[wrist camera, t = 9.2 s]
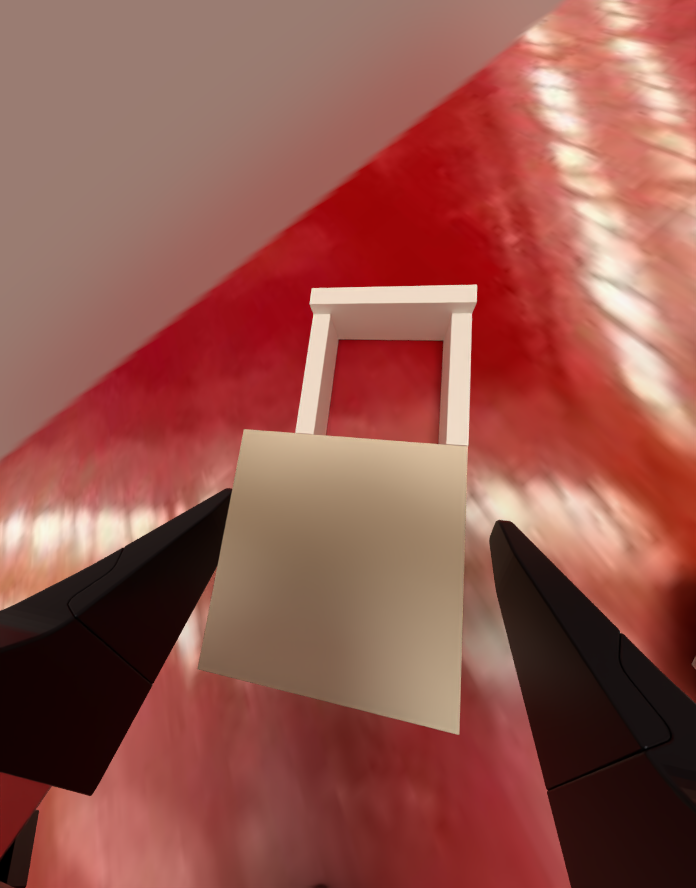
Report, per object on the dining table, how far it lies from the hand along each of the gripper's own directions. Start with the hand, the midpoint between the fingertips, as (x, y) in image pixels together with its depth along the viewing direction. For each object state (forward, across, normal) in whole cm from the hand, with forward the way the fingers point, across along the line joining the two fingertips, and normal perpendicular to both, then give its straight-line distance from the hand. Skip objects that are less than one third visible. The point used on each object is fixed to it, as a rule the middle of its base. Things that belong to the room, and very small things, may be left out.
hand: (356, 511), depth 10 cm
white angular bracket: (+13, 0, 0) cm, 13 cm away
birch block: (+6, 0, +7) cm, 9 cm away
